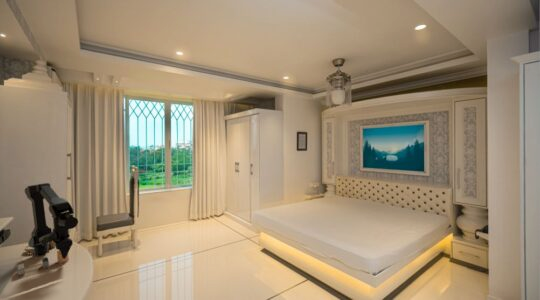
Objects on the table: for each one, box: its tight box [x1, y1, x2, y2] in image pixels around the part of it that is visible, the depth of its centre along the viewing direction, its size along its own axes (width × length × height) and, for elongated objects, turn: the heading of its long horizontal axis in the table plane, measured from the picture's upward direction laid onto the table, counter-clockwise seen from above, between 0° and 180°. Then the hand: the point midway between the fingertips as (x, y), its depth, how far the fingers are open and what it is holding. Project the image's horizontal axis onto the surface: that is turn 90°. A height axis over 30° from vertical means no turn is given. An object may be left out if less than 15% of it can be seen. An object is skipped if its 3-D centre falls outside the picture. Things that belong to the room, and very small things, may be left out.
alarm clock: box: [23, 241, 56, 255], centre depth 144 cm, size 11×5×15 cm
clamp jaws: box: [17, 256, 50, 278], centre depth 118 cm, size 6×10×4 cm, turn 137°
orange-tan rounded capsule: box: [56, 250, 70, 264], centre depth 126 cm, size 4×4×6 cm
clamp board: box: [18, 262, 50, 280], centre depth 118 cm, size 12×10×1 cm
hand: (63, 255), depth 126 cm, fingers open, 9 cm apart
